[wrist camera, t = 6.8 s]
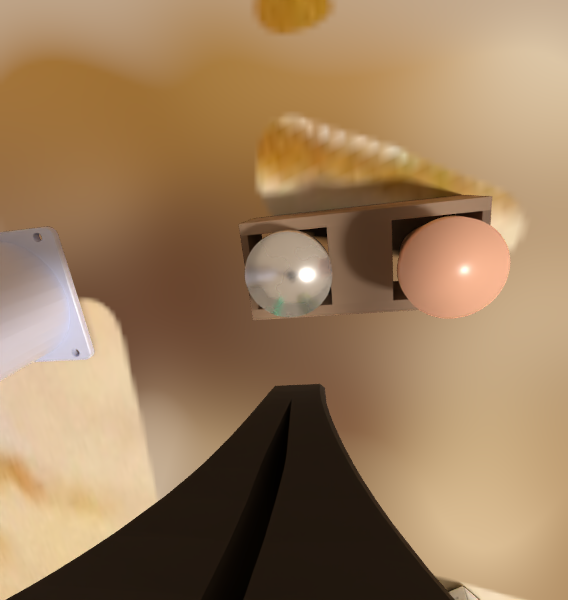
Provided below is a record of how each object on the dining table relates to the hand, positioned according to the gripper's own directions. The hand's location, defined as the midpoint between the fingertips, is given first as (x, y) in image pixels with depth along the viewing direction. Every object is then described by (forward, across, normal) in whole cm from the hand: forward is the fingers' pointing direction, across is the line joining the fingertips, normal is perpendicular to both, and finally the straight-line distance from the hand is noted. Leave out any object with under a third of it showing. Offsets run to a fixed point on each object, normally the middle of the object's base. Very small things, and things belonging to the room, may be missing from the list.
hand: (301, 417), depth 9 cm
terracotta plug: (+8, -5, -2) cm, 10 cm away
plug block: (+10, -2, -2) cm, 10 cm away
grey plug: (+9, +1, -3) cm, 10 cm away
